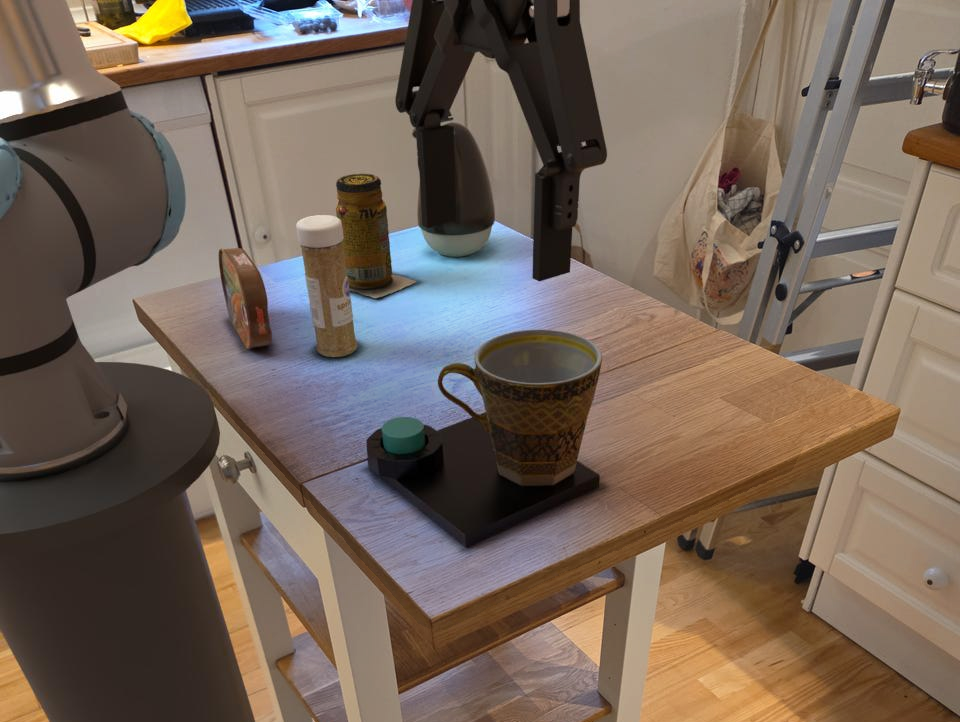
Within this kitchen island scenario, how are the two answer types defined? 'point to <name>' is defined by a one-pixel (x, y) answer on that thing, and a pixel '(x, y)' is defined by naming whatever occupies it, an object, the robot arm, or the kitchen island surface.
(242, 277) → the tin
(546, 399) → the ceramic cup
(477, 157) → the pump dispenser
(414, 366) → the kitchen island surface
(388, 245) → the condiment
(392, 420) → the button
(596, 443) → the kitchen island surface
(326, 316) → the spice jar
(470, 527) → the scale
